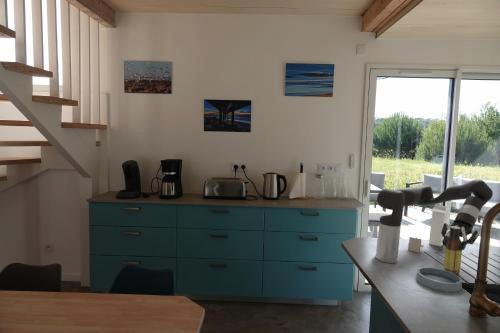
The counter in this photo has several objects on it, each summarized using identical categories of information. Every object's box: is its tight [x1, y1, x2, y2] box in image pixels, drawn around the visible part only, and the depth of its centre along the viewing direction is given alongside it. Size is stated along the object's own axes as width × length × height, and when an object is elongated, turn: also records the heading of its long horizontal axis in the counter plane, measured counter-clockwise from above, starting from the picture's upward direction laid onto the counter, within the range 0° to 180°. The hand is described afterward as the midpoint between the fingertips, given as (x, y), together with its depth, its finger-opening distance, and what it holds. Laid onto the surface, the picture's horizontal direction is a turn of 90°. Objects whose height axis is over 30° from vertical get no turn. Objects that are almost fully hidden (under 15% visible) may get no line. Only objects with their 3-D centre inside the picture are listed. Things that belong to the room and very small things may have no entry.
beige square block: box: [407, 236, 425, 253], centre depth 172 cm, size 3×7×7 cm, turn 58°
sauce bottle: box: [443, 226, 463, 275], centre depth 145 cm, size 6×6×20 cm
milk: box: [428, 204, 448, 247], centre depth 185 cm, size 6×6×22 cm
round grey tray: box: [415, 266, 463, 293], centre depth 134 cm, size 16×16×3 cm
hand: (452, 247), depth 144 cm, fingers closed on sauce bottle, 6 cm apart
